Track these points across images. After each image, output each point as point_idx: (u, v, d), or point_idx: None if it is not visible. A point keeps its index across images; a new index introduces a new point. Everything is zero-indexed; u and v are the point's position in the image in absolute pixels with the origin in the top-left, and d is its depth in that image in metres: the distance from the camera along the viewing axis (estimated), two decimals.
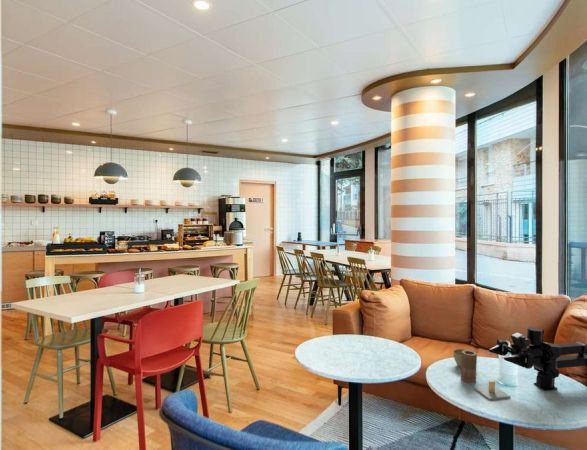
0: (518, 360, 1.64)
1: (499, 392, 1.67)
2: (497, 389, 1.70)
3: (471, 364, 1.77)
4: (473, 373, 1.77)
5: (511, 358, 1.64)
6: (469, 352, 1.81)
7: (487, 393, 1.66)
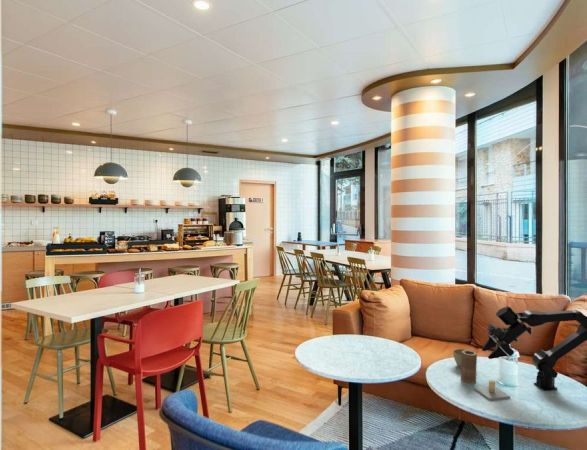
0: (500, 352, 1.72)
1: (499, 392, 1.67)
2: (497, 389, 1.70)
3: (471, 364, 1.77)
4: (473, 373, 1.77)
5: (493, 354, 1.72)
6: (469, 352, 1.81)
7: (487, 393, 1.66)
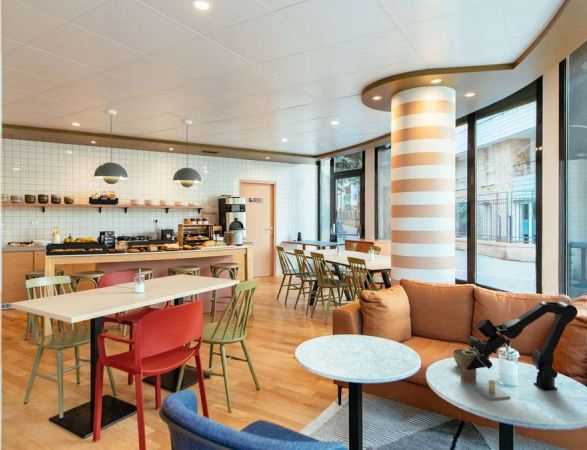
0: (478, 363, 1.75)
1: (499, 392, 1.67)
2: (497, 389, 1.70)
3: None
4: (473, 373, 1.77)
5: (471, 365, 1.75)
6: (469, 352, 1.81)
7: (487, 393, 1.66)
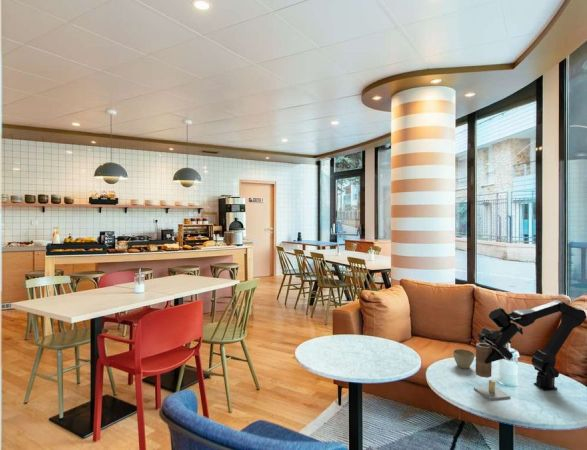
0: (496, 355, 1.67)
1: (499, 392, 1.67)
2: (497, 389, 1.70)
3: None
4: (490, 366, 1.69)
5: (490, 359, 1.67)
6: (482, 344, 1.73)
7: (487, 393, 1.66)
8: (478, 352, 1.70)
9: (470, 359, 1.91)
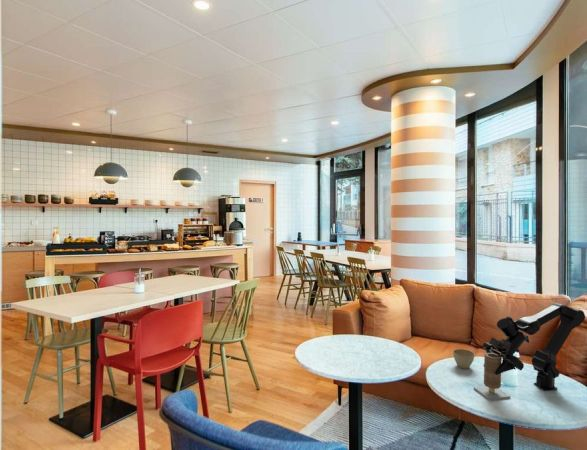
0: (506, 365, 1.63)
1: (499, 392, 1.67)
2: (497, 389, 1.70)
3: None
4: (499, 377, 1.65)
5: (500, 369, 1.63)
6: (490, 355, 1.69)
7: (487, 393, 1.66)
8: (488, 363, 1.66)
9: (470, 359, 1.91)
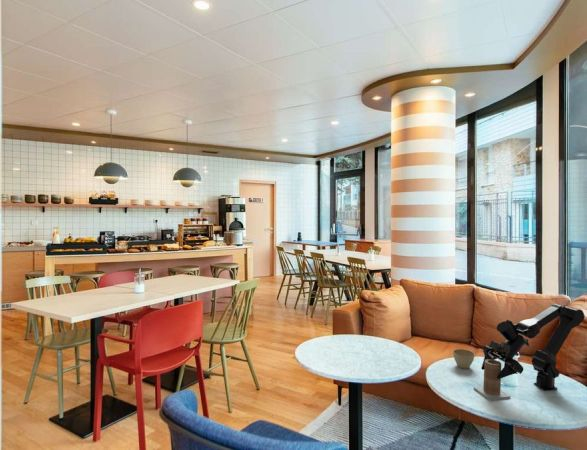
0: (508, 370, 1.62)
1: None
2: None
3: None
4: (499, 383, 1.65)
5: (502, 374, 1.62)
6: (490, 361, 1.69)
7: (487, 393, 1.66)
8: (488, 369, 1.66)
9: (470, 359, 1.91)
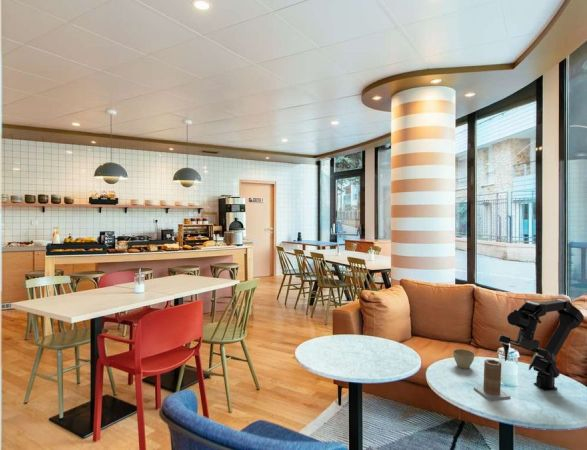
0: None
1: None
2: None
3: (498, 374, 1.65)
4: (499, 383, 1.65)
5: (533, 365, 1.65)
6: (490, 361, 1.69)
7: (487, 393, 1.66)
8: (488, 369, 1.66)
9: (470, 359, 1.91)
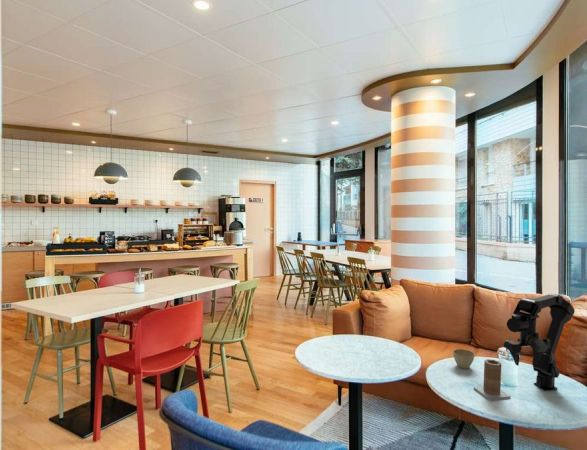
0: None
1: None
2: None
3: (498, 374, 1.65)
4: (499, 383, 1.65)
5: None
6: (490, 361, 1.69)
7: (487, 393, 1.66)
8: (488, 369, 1.66)
9: (470, 359, 1.91)
